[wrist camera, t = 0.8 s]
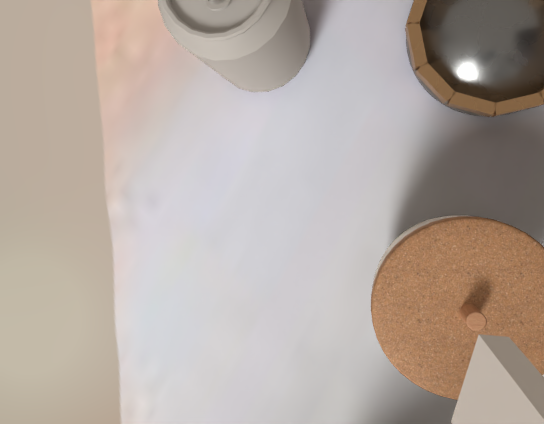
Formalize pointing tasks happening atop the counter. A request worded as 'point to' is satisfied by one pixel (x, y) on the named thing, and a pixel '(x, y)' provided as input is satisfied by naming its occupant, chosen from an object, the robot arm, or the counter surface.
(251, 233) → the counter surface
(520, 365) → the robot arm
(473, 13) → the coaster
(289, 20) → the can
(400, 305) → the lidded jar
